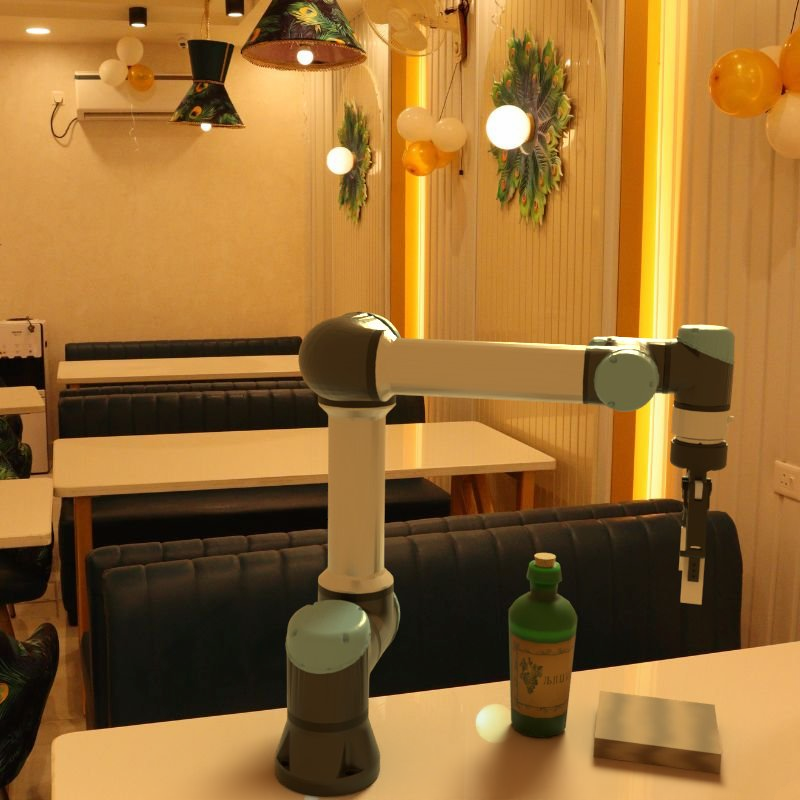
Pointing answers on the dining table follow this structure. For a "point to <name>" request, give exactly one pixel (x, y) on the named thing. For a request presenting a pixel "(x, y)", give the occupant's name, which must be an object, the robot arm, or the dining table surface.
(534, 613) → the bottle
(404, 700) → the dining table surface
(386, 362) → the robot arm
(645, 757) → the walnut riser
